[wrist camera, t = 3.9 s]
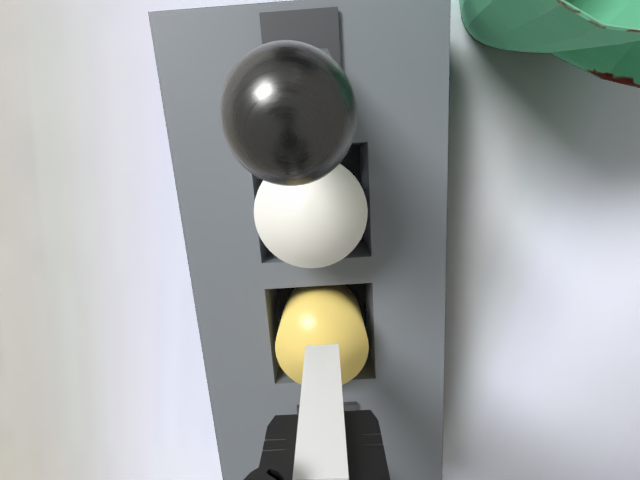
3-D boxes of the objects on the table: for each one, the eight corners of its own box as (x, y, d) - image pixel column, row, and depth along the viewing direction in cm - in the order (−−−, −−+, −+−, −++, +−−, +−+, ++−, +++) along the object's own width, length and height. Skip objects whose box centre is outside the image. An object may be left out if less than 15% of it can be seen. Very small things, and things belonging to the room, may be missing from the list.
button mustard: (279, 281, 22) (270, 307, 18) (359, 276, 22) (367, 302, 18) (286, 352, 23) (279, 391, 19) (362, 347, 23) (370, 386, 19)
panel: (182, 40, 20) (144, 9, 16) (425, 21, 20) (453, -15, 15) (239, 445, 26) (224, 499, 22) (424, 436, 26) (443, 489, 22)
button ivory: (263, 159, 19) (247, 159, 15) (356, 153, 18) (365, 151, 15) (272, 249, 20) (260, 271, 16) (360, 243, 20) (369, 264, 16)
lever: (263, 28, 15) (182, 52, 6) (333, 23, 15) (365, 39, 6) (273, 102, 16) (222, 213, 7) (335, 97, 16) (365, 204, 7)
